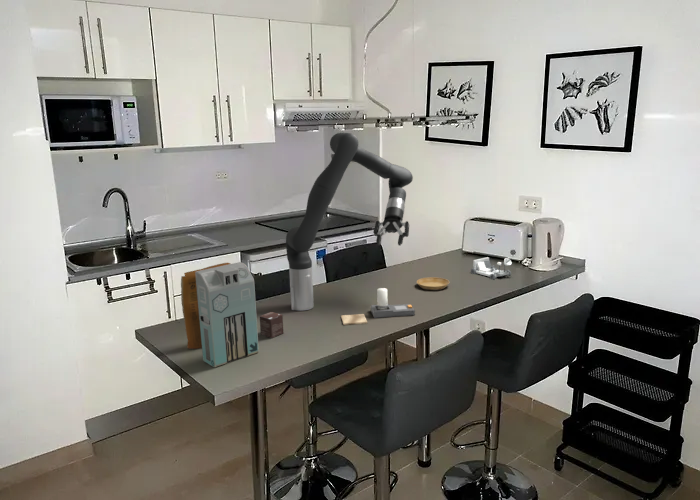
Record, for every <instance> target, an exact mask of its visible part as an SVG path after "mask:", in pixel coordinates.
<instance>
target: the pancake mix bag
mask: <svg viewBox="0 0 700 500" xmlns="http://www.w3.org/2000/svg"><path fill="white" fill-rule="evenodd" d="M228 264H232V263H230V262H223V263H218V264H214V265H211V266H207V267H204V268H199V269H195V270H192V271H186V272H184V275H183V276H182V275H181V278H180V288H181V289H180V292H181V293H180V294H181V295H180V299H181V307H182V309H181V310H182V315H183V320H184V327H185V328H184V329H185V334H186V338H187V347H186V348H187V349H189V350H197V349H198V350H199V349H202V341H201V330H200V319H199V308H198V297H197V286H196V275H195V272H196V271H200V270H205V269H210V268H214V267H219V266H224V265H228Z"/></svg>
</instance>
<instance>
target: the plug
mask: <svg viewBox="0 0 700 500" xmlns="http://www.w3.org/2000/svg"><path fill="white" fill-rule="evenodd" d="M376 293H377V294H376V300H377V301H376V302H377V303H376V305H377V310H388V304H389V303H388V302H389V301H388V288H385V287H379V288H377V289H376Z"/></svg>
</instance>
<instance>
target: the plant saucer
mask: <svg viewBox="0 0 700 500" xmlns="http://www.w3.org/2000/svg"><path fill="white" fill-rule="evenodd" d="M416 284H417V285H418V286H419V287H420V288H421V289H423V290H428V291H440V290H443V289H445V288H446V287H447V286H448V285H449V284H450V280H449V279H446V278H444V277H436V276H435V277H434V276H431V277H422V278H419V279H417V280H416Z"/></svg>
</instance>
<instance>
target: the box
mask: <svg viewBox="0 0 700 500" xmlns="http://www.w3.org/2000/svg"><path fill="white" fill-rule="evenodd" d="M283 316H284V315H283V314H281V313H277V312H273V311H270V312H267V313H265V314H262V315H259V326H260V327H259V328H260V330H259V331H260V335H261V336H263V337H267V338H269V339H273V338H275V337H279V336H280V335H283V334H284V318H283Z"/></svg>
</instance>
